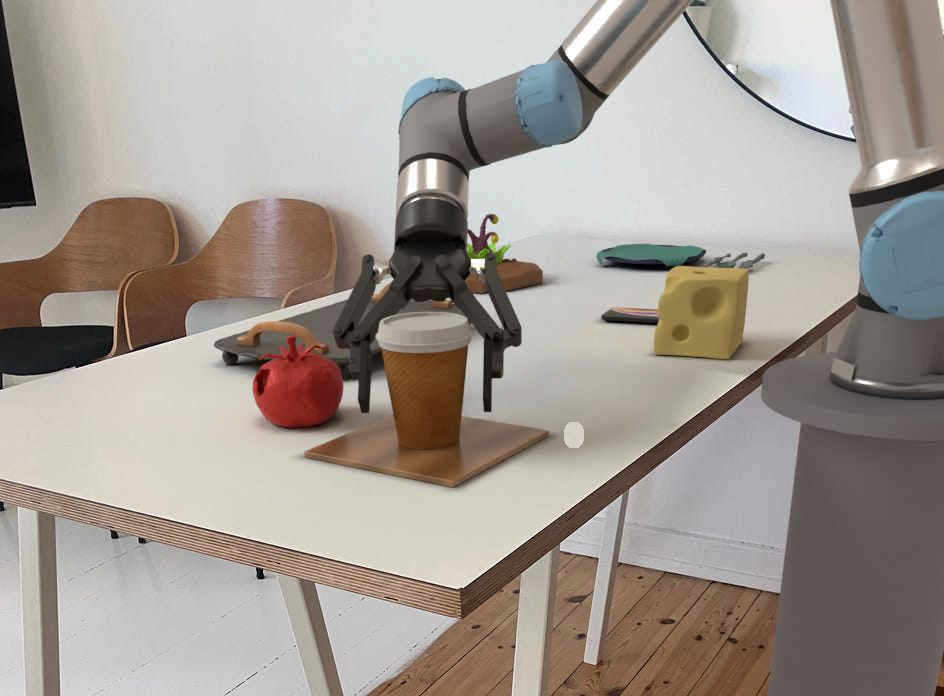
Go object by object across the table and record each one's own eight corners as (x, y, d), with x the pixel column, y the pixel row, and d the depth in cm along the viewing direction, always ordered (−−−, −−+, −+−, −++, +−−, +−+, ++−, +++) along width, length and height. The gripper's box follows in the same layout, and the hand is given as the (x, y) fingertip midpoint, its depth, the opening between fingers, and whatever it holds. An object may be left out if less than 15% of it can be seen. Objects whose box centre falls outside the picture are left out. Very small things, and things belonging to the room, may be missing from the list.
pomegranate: (357, 408, 125) (351, 325, 121) (328, 434, 116) (321, 346, 112) (276, 405, 127) (267, 323, 123) (241, 430, 119) (231, 344, 114)
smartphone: (612, 306, 168) (710, 311, 163) (612, 312, 169) (710, 317, 164) (599, 315, 162) (700, 320, 157) (599, 321, 162) (700, 327, 157)
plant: (563, 282, 192) (564, 214, 187) (471, 297, 182) (470, 225, 177) (496, 268, 207) (495, 205, 202) (408, 281, 197) (405, 214, 192)
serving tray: (363, 313, 173) (361, 272, 170) (492, 325, 163) (492, 281, 160) (196, 368, 144) (189, 320, 141) (340, 388, 133) (336, 336, 130)
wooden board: (549, 435, 114) (549, 430, 114) (453, 487, 101) (453, 481, 101) (409, 412, 123) (408, 407, 123) (304, 457, 110) (303, 451, 110)
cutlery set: (622, 252, 220) (622, 240, 219) (770, 261, 207) (771, 248, 206) (581, 267, 205) (581, 255, 204) (738, 278, 192) (739, 264, 191)
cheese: (652, 355, 144) (657, 276, 139) (670, 337, 153) (675, 262, 148) (732, 361, 140) (740, 280, 136) (746, 342, 149) (754, 265, 144)
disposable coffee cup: (487, 430, 115) (485, 312, 109) (457, 458, 107) (453, 333, 101) (402, 423, 117) (396, 308, 112) (367, 450, 109) (358, 328, 104)
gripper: (546, 240, 117) (546, 423, 110) (324, 244, 118) (312, 425, 112) (547, 191, 110) (547, 384, 103) (311, 196, 111) (297, 387, 105)
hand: (425, 406), depth 108 cm, fingers open, 11 cm apart
